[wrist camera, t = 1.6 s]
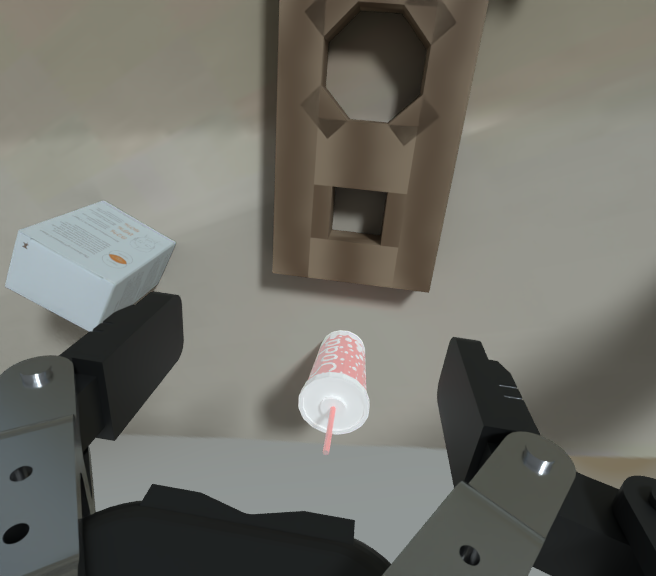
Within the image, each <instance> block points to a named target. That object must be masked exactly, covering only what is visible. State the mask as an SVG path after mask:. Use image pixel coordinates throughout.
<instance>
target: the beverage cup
mask: <svg viewBox="0 0 656 576" xmlns="http://www.w3.org/2000/svg"><path fill="white" fill-rule="evenodd" d="M369 406H370V404H369V397H368V395H367V392H366V369H365V348H364V345H363V342H362V340H361V339H360V338H359V337H358V336H357V335H355V334H353V333H351V332H349V331H342V330H339V331H335V332H332V333H330V334H329V335H327V336H326V337H325V339H324V340H323V342H322V344H321V347H320V349H319V352H318V355H317V357H316V360H315V363H314V365H313V368H312V370H311V373H310V376H309V378H308V381H306V383H305V385H304V386H303V388H302V390H301V393H300V394H299V405H298V408H299V410H300V412H301V415H302V417H303V419H304V420H305V421H307V422H308V423H309V424H310V425H311V426H312V427H313V428H315V429H318V430H320V431H322V432H324V433H326V436H325V442H324V448H323V454H324V455H328V454H329V450H330V444H331V437H332V434H344V433H350V432H352V431H354V430H356V429H357V428H359V427H361V426H362V425H363V423H364V422H365V421H366V419H367V418H368V413H369Z"/></svg>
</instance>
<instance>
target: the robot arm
mask: <svg viewBox="0 0 656 576" xmlns="http://www.w3.org/2000/svg"><path fill="white" fill-rule="evenodd" d="M183 342H184V337H183V318H182V302H181V298H180V296H179V295H174V294H168V293H161V292H154V291H153V292H151V293H149V294H148V295H147V296H146V297H144V298H143V299H142V300H141V301H139V302H138V303H137V304H136V305H130V306H128V307H125V308H123V309H120V310H118V311H116V312H114V313H113V314H111V315H110V316H109V317H108V318H106V319H105V320H104V321H103V323H100V324H99V325H97V326H96V327H95V328H94V329H93V331H90V332H88V333H87V334H86V335H85V336H83V337H82V338H81V339H80V340H78V341H77V342H76V343H74V344H73V345H72V346H71V347H69V348H68V349H67V350H66V351H64V352H63V353H62V354H60V355H59V356H52V355H49V356H39V357H34V358H30V359H27V360H24V361H21V362H19V363H17V364H15V365H13V366H11V367H9V368H8V369H7V370H5V371H4V372H3V373H2V374H1V375H0V576H528V574H529V572H530V570H531V568H532V567H535V568H537V569H539V570H541V571H543V572H545V573H547V574H549V575H551V576H656V479H653V478H649V477H645V476H631V477H629V478H627V479H626V480H625V481H624V482H623V484H622V486H621V487H620V489H617V488H614V487H612V486H609V485H607V484H604V483H602V482H599V481H597V480H594V479H592V478H589V477H587V476H584V475H582V474H580V473H578V472H576V470H575V466H574V464H573V462H572V460H571V458H570V457H569V456H568V455H567V454H566V452H565V451H564V450H562V449H561V448H560V447H559V446H558V445H556V444H555V443H553V442H552V441H550V440H548V439H546V438H544V437H542V436H541V435H540V433H539V431H538V429H537V427H536V425H535V423H534V421H533V419H532V417H531V415H530V413H529V411H528V409H527V407H526V404H525V402H524V400H522V396H521V394H520V392H519V390H518V389H517V386H516V384H515V382H514V380H513V378H512V376H511V374H510V373H509V372H508V371H507V370H506V369H505V368H504V367H503V366H502V365H501V364H500V363H499V362H498V361H493V360H488V357H487V355H486V353H485V350H484V348H483V346H482V343H481V342H480V341H477V340H470V339H463V338H457V337H453V338H452V339H451V340H450V343H449V346H448V350H447V354H446V357H445V361H444V364H443V368H442V372H441V375H440V379H439V383H438V391H437V402H438V407H439V413H440V418H441V423H442V428H443V433H444V438H445V443H446V449H447V453H448V458H449V464H450V469H451V474H452V480H453V485H454V489H453V490H452V492H451V493H450V494H449V495H448V496H447V498H446V499H445V500H444V501H443V502H442V504H441V505H440V506H439V507H438V509H437V510H436V511H435V512H434V513H433V514H432V516H431V517H430V518H429V519H428V521H427V522H426V523H425V524H424V525H423V527H422V528H421V529H420V530H419V532H418V533H417V534H416V535H415V536H414V537H413V539H412V540H411V541H410V542H409V544H408V545H407V546H406V547H405V548H404V550H403V551H402V552H401V553H400V554H399V556H398V557H397V558H396V559H395V560H394V562H393V563H392V564H390V562H388V560H386V559H385V558H384V557H383V556H382V555H380V554H379V553H378V552H376V551H375V550H374V549H373V548H371V547H369V546H368V545H366V544H364V543H363V542H361V541H359V540H357V539H354V524H355V520H350V519H345V518H339V517H334V516H328V515H323V514H317V513H311V512H306V511H300V512H284V513H283V512H282V513H267V514H246V513H243V512H241V511H239V510H237V509H235V508H232V507H230V506H228V505H226V504H224V503H222V502H220V501H218V500H216V499H213V498H211V497H209V496H207V495H205V494H203V493H200V492H195V491H189V490H184V489H178V488H172V487H167V486H161V485H156V484H152V485H151V487H150V489H149V490H148V492H147V494H146V495H145V497H144V499H143V500H142V501H135V502H129V503H124V504H120V505H117V506H113V507H109V508H107V509H104V510H102V511H99V512H96V511H95V501H94V489H93V478H92V467H91V455H90V449H89V445H90V444H91V442H92V441H93V440H94V439H95V438H101V439H107V440H113V441H115V440H116V438H117V437H118V436H119V435H120V433H121V432H122V431H123V430H124V428H125V427H126V426H127V425H128V423H129V422H130V421H131V419H132V418H133V417H134V416H135V414H136V413H137V412H138V411H139V409H140V408H141V407H142V405H143V404H144V403H145V402H146V400H147V399H148V398H149V397H150V395H151V394H152V393H153V391H154V390H155V389H156V388H157V386H158V385H159V384H160V383H161V381H162V380H163V379H164V377H165V376H166V375H167V374H168V372H169V371H170V370H171V369H172V367H173V366H174V365H175V363H176V362H177V361H178V359H179V358H180V355H181V353H182V349H183Z"/></svg>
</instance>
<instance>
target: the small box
mask: <svg viewBox="0 0 656 576" xmlns="http://www.w3.org/2000/svg"><path fill="white" fill-rule="evenodd" d="M175 245H176V242H175V241H173V240H171V239H169V238H168V237H166V236H164V235H162V234H161V233H159V232H157V231H156V230H154V229H152V228H150V227H149V226H147V225H145V224H144V223H142V222H140V221H138V220H137V219H135V218H133V217H132V216H130V215H128V214H126V213H125V212H123V211H121V210H119V209H118V208H116V207H114V206H112V205H111V204H109V203H107V202H106V201H100V202H97V203H94V204H92V205H89V206H86V207H83V208H80V209H77V210H75V211H72V212H69V213H66V214H63V215H60V216H58V217H55V218H52V219H49V220H46V221H43V222H40V223H37V224H35V225H32V226H29V227H26V228H23V229H20V230H19V231H18V235H17V238H16V242H15V246H14V250H13V254H12V258H11V262H10V266H9V270H8V274H7V279H6V284H5V287H6V288H8V289H10V290H12V291H14V292H16V293H17V294H19V295H21V296H23V297H25V298H27V299H29V300H31V301H32V302H34V303H36V304H38V305H40V306H42V307H44V308H46V309H48V310H49V311H51V312H53V313H55V314H57V315H59V316H61V317H62V318H64V319H66V320H68V321H70V322H72V323H74V324H76V325H77V326H79V327H81V328H83V329H85V330H87V331H89V332H90V331H93V329H94V328H95V327H96V326H97V325H99V324H100V323H103V321H104V320H105V319H106V318H108V317H109V316H110V315H111V314H113V313H114V312H116V311H118V310H120V309H123V308H125V307H128V306H130V305H133V304H134V303H135V302H136V301H138V300H139V299H140V298H141V297H142V296H144V295H145V294H146V293H147V292H149V291H150V290H151V289H152V288H153V287H155V286H156V285H157V284H158V282H159V280H160V278H161V276H162V274H163V272H164V269H165V267H166V265H167V263H168V261H169V258H170V256H171V254H172V252H173V249H174V247H175Z"/></svg>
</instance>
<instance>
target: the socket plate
mask: <svg viewBox="0 0 656 576" xmlns="http://www.w3.org/2000/svg"><path fill="white" fill-rule="evenodd" d="M488 3H489V0H279V35H278V74H277V114H276V153H275V193H274V232H273V271H272V273H275V274H283V275H292V276H300V277H308V278H316V279H324V280H332V281H340V282H348V283H356V284H364V285H372V286H380V287H388V288H396V289H404V290H412V291H421V292H429V290H430V285H431V280H432V275H433V271H434V266H435V261H436V256H437V251H438V246H439V241H440V236H441V232H442V227H443V222H444V217H445V212H446V207H447V202H448V197H449V193H450V188H451V183H452V178H453V173H454V168H455V163H456V159H457V154H458V149H459V144H460V139H461V134H462V129H463V124H464V120H465V115H466V110H467V105H468V100H469V95H470V90H471V86H472V81H473V76H474V71H475V66H476V61H477V56H478V51H479V47H480V42H481V37H482V32H483V27H484V22H485V17H486V13H487V8H488ZM360 11H374V12H388V13H402V14H403V15H404V17H405V18H406V20H407V21H408V23H409V24H410V26H411V27H412V29H413V30H414V32H415V33H416V35H417V36H418V38H419V39H420V41H421V42H422V44H423V45H424V46H425V48H426V49H427V53H426V59H425V65H424V72H423V78H422V84H421V90H420V96H418V97H417V98H416V99H415V100H414V101H413V102H411V103H410V104H409V105H408V106H407V107H406V108H404V109H403V110H402V111H401V112H400V113H399V114H397V115H396V116H395V117H394V118H393V119H392V120H390V121H389V122H388V123H386V122H375V121H364V120H353V119H350V118H349V117H348V116H347V115H346V113H345V112H344V111H343V109H342V108H341V107H340V105H339V104H338V103H337V101H336V100H335V99H334V97H333V96H332V95H331V93H330V92H329V91H328V90H327V88H326V76H327V62H328V48H329V42H330V41H331V40H332V39H333V38H334V37H335V36H336V35H337V34H338V33H339V32H340V31H341V30H342V29H343V28H344V27H345V26H346V25H347V24H348V23H349V22H350V21H351V20H352V19H353V18H354V17H355V16H356V15H357V14H358V13H359V12H360ZM336 187H343V188H353V189H362V190H371V191H381V192H387V194H386V201H385V208H384V215H383V223H382V230H381V235H374V234H365V233H356V232H347V231H339V230H332V223H333V211H334V200H335V188H336Z"/></svg>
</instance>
